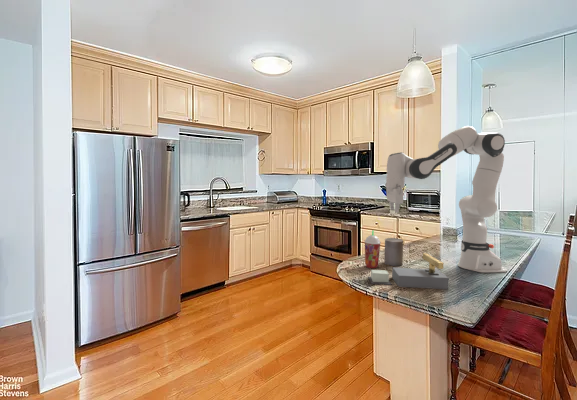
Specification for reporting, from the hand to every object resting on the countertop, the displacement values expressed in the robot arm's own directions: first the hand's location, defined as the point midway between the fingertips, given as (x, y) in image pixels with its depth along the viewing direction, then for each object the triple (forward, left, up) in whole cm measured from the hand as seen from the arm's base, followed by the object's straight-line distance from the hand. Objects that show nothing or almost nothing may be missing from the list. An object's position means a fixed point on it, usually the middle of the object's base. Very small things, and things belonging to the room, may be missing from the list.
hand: (394, 211), depth 157 cm
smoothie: (+10, -2, -31) cm, 33 cm away
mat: (+10, +20, -31) cm, 38 cm away
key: (-13, +20, -26) cm, 35 cm away
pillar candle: (-3, -10, -31) cm, 33 cm away
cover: (+10, +20, -30) cm, 38 cm away
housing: (-8, +20, -31) cm, 37 cm away
